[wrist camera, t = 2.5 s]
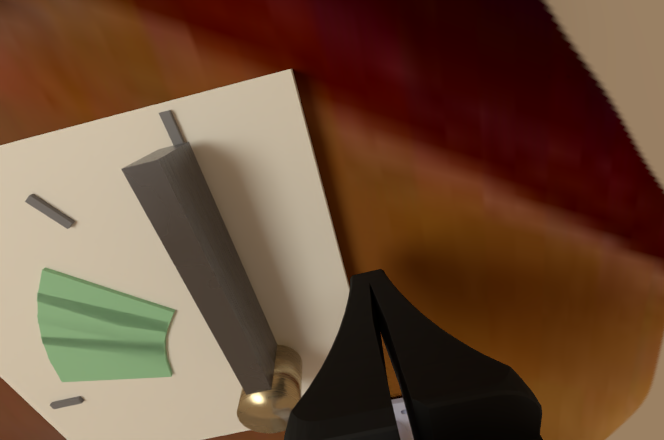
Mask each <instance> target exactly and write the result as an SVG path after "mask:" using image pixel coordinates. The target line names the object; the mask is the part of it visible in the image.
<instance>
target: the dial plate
mask: <svg viewBox="0 0 664 440" xmlns="http://www.w3.org/2000/svg"><path fill="white" fill-rule="evenodd" d="M185 142H189V143H190V146H191V148H192V150H193V152H194V155H195V157H196V159H197V162H198V164H199V166H200V168H201V171H202V173H203V175H204V178H205V180H206V182H207V184H208V187H209V189H210V191H211V194H212V196H213V198H214V200H215V203H216V205H217V207H218V210H219V212H220V214H221V217H222V219H223V221H224V223H225V226H226V228H227V230H228V233H229V235H230V237H231V239H232V242H233V244H234V246H235V249H236V251H237V253H238V255H239V258H240V260H241V262H242V265H243V267H244V269H245V271H246V274H247V276H248V278H249V281H250V283H251V285H252V287H253V290H254V292H255V294H256V297H257V299H258V301H259V303H260V306H261V308H262V310H263V313H264V315H265V317H266V320H267V322H268V324H269V326H270V329H271V331H272V333H273V336H274V338H275V340H276V342H277V344H278V345H284V346H287V347H290V348H292V349H294V350H295V351H296V352H297V353H298V354H299V355H300V357H301V359H302V390H301V397H302V396H303V395H304V393H305V392H306V390H307V389H308V388H309V386H310V385H311V383H312V381H313V380H314V378H315V377H316V375H317V373H318V372H319V370H320V369H321V367H322V365H323V363H324V361H325V359H326V357H327V355H328V353H329V351H330V349H331V347H332V345H333V343H334V341H335V338H336V336H337V333H338V331H339V328H340V325H341V322H342V319H343V316H344V313H345V309H346V305H347V301H348V296H349V290H350V286H349V283H348V279H347V275H346V271H345V267H344V264H343V260H342V256H341V252H340V248H339V245H338V241H337V237H336V233H335V229H334V226H333V222H332V218H331V214H330V210H329V206H328V203H327V199H326V195H325V191H324V187H323V184H322V180H321V176H320V172H319V168H318V165H317V161H316V157H315V153H314V149H313V146H312V142H311V138H310V134H309V130H308V126H307V123H306V119H305V115H304V111H303V107H302V104H301V100H300V96H299V92H298V88H297V85H296V81H295V77H294V73H293V69H289V70H285V71H281V72H277V73H274V74H270V75H266V76H262V77H258V78H255V79H251V80H247V81H243V82H239V83H236V84H232V85H228V86H224V87H220V88H217V89H213V90H209V91H205V92H201V93H198V94H194V95H190V96H186V97H183V98H179V99H175V100H171V101H167V102H164V103H160V104H156V105H152V106H148V107H145V108H141V109H137V110H133V111H129V112H126V113H122V114H118V115H114V116H110V117H107V118H103V119H99V120H95V121H91V122H88V123H84V124H80V125H76V126H72V127H69V128H65V129H61V130H57V131H53V132H50V133H46V134H42V135H38V136H34V137H31V138H27V139H23V140H19V141H15V142H12V143H8V144H4V145H0V377H1V378H2V379H3V380H5V381H6V382H7V383H8V384H9V385H10V386H11V387H12V388H13V389H14V390H15V391H16V392H17V393H18V394H19V395H20V396H21V397H23V398H24V399H25V400H26V401H27V402H28V403H29V404H30V405H31V406H32V407H33V408H34V409H35V410H36V411H37V412H38V413H39V414H41V415H42V416H43V417H44V418H45V419H46V420H47V421H48V422H49V423H50V424H51V425H52V426H53V427H54V428H55V429H56V430H57V431H59V432H60V433H61V434H62V435H63V436H64V437H65V438H66V439H67V440H203V439H208V438H212V437H217V436H222V435H227V434H232V433H237V432H242V431H247V430H251V429H248V428H247V427H245V426H244V425H243V424H242V423H241V422H240V421H239V419H238V417H237V408H238V404H239V399H240V395H241V390H242V386H241V384H240V382H239V381H238V379H237V377H236V375H235V373H234V372H233V370H232V368H231V366H230V364H229V363H228V361H227V359H226V357H225V355H224V354H223V352H222V350H221V348H220V346H219V345H218V343H217V341H216V339H215V337H214V336H213V334H212V332H211V330H210V328H209V327H208V325H207V323H206V321H205V319H204V318H203V316H202V314H201V312H200V310H199V309H198V307H197V305H196V303H195V301H194V300H193V298H192V296H191V294H190V292H189V291H188V289H187V287H186V285H185V283H184V282H183V280H182V278H181V276H180V274H179V273H178V271H177V269H176V267H175V265H174V264H173V262H172V260H171V258H170V256H169V254H168V253H167V251H166V249H165V247H164V245H163V244H162V242H161V240H160V238H159V236H158V235H157V233H156V231H155V229H154V227H153V226H152V224H151V222H150V220H149V218H148V217H147V215H146V213H145V211H144V209H143V208H142V206H141V204H140V202H139V200H138V199H137V197H136V195H135V193H134V191H133V190H132V188H131V186H130V184H129V182H128V181H127V179H126V177H125V175H124V173H123V172H122V170H121V169H122V168H124V167H126V166H128V165H130V164H131V163H133V162H135V161H137V160H139V159H141V158H143V157H145V156H147V155H149V154H151V153H152V152H154V151H156V150H158V149H161V148H165V147H169V146H173V145H177V144H181V143H185Z"/></svg>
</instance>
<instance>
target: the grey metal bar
mask: <svg viewBox="0 0 664 440" xmlns="http://www.w3.org/2000/svg"><path fill="white" fill-rule="evenodd" d="M121 170H122V172H123V173H124V175H125V177H126V179H127V181H128V182H129V184H130V186H131V188H132V190H133V191H134V193H135V195H136V197H137V199H138V200H139V202H140V204H141V206H142V208H143V209H144V211H145V213H146V215H147V217H148V218H149V220H150V222H151V224H152V226H153V227H154V229H155V231H156V233H157V235H158V236H159V238H160V240H161V242H162V244H163V245H164V247H165V249H166V251H167V253H168V254H169V256H170V258H171V260H172V262H173V264H174V265H175V267H176V269H177V271H178V273H179V274H180V276H181V278H182V280H183V282H184V283H185V285H186V287H187V289H188V291H189V292H190V294H191V296H192V298H193V300H194V301H195V303H196V305H197V307H198V309H199V310H200V312H201V314H202V316H203V318H204V319H205V321H206V323H207V325H208V327H209V328H210V330H211V332H212V334H213V336H214V337H215V339H216V341H217V343H218V345H219V346H220V348H221V350H222V352H223V354H224V355H225V357H226V359H227V361H228V363H229V364H230V366H231V368H232V370H233V372H234V373H235V375H236V377H237V379H238V381H239V382H240V384H241V386H242V390H241V395H240V399H239V404H238V408H237V417H238V419H239V421H240V422H241V423H242V424H243V425H244V426H245V427H247V428H248V429H251V430H253V431H256V432H261V433H276V432H281V431H284V430H286V427H287V423H288V419H289V415H290V412H291V410H292V409H293V408H294V407H295V405H296V404H297V403H298V401H299V400H300V399H301V390H302V359H301V357H300V355H299V354H298V353H297V352H296V351H295V350H294V349H292V348H290V347H287V346H284V345H278V344H277V342H276V340H275V338H274V336H273V333H272V331H271V329H270V326H269V324H268V322H267V320H266V317H265V315H264V313H263V310H262V308H261V306H260V303H259V301H258V299H257V297H256V294H255V292H254V290H253V287H252V285H251V283H250V281H249V278H248V276H247V274H246V271H245V269H244V267H243V265H242V262H241V260H240V258H239V255H238V253H237V251H236V249H235V246H234V244H233V242H232V239H231V237H230V235H229V233H228V230H227V228H226V226H225V223H224V221H223V219H222V217H221V214H220V212H219V210H218V207H217V205H216V203H215V200H214V198H213V196H212V194H211V191H210V189H209V187H208V184H207V182H206V180H205V178H204V175H203V173H202V171H201V168H200V166H199V164H198V162H197V159H196V157H195V155H194V152H193V150H192V148H191V146H190V143H189V142H185V143H181V144H177V145H173V146H169V147H165V148H161V149H158V150H156V151H154V152H152V153H151V154H149V155H147V156H145V157H143V158H141V159H139V160H137V161H135V162H133V163H131V164H130V165H128V166H126V167H124V168H122V169H121Z"/></svg>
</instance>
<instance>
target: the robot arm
mask: <svg viewBox="0 0 664 440" xmlns="http://www.w3.org/2000/svg"><path fill="white" fill-rule="evenodd" d="M380 332H381V333H380ZM381 335H382V337H383V340H384V343H385V346H386V349H387V351H388V354H389V357H390V360H391V363H392V365H393V368H394V371H395V374H396V376H397V379H398V383H399V386H400V389H401V393H402V396H403V398H397V399H392V400H391V396H390V392H389V387H388V381H387V375H386V368H385V361H384V354H383V347H382V340H381ZM541 419H542V408H541V405H540V403H539V402H538V400H537V398H536V397H535V395H534V394H533V392H532V391H531V390H530V388H529V387H528V386H527V385H526V384H525V382H524V381H523V380H522V379H521V378H520V377H519V376H518V374H517V373H516V372H515V371H514V370H513V369H512V368H511V367H510V366H507V365H505V364H503V363H501V362H499V361H497V360H494V359H492V358H490V357H488V356H486V355H484V354H482V353H480V352H478V351H476V350H474V349H473V348H471V347H469V346H467V345H466V344H464V343H462V342H461V341H459V340H458V339H456V338H454V337H453V336H451V335H450V334H448V333H447V332H445V331H444V330H442V329H441V328H440V327H438V326H437V325H436V324H434V323H433V322H432V321H430V320H429V319H428V318H427V317H425V316H424V315H423V314H422V313H421V312H420V311H419V310H417V309H416V308H415V307H414V306H413V305H412V304H411V303H410V302H409V301H408V300H407V299H406V298H405V297H404V296H403V295H402V294H401V293H400V292H399V291H398V289H397V288H396V287H395V286H394V285H393V284H392V282H391V281H390V280H389V278H388V277H387V276H386V274H385V272H384V271H383V270H381V269H379V270H375V271H370V272H366V273H361V274H357V275H352V277H351V278H350V290H349V296H348V301H347V305H346V309H345V313H344V316H343V319H342V322H341V325H340V328H339V331H338V333H337V336H336V338H335V341H334V343H333V345H332V347H331V349H330V351H329V353H328V355H327V357H326V359H325V361H324V363H323V365H322V367H321V369H320V370H319V372H318V373H317V375H316V377H315V378H314V380H313V381H312V383H311V385H310V386H309V388H308V389H307V390H306V392H305V393H304V395H303V396H302V397H301V399H300V400H299V401H298V403H297V404H296V405H295V407H294V408H293V409H292V410H291V412H290V415H289V419H288V423H287V427H286V432H285V437H284V440H543V439H542V437H541V436H540V427H541Z"/></svg>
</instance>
